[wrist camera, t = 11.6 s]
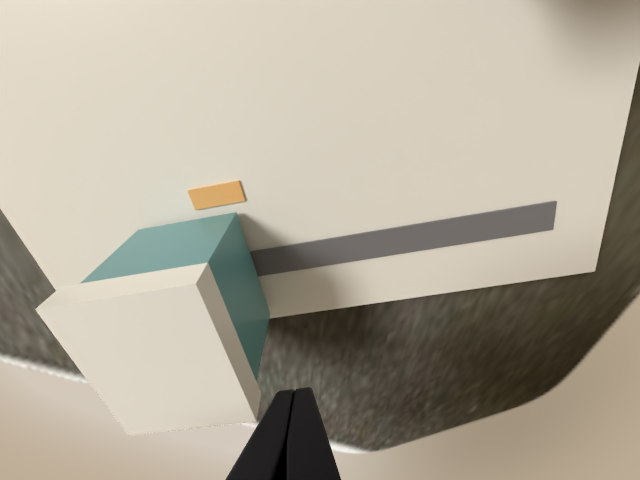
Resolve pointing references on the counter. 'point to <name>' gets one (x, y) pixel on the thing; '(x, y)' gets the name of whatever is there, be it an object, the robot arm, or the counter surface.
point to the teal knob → (169, 327)
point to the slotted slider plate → (320, 136)
